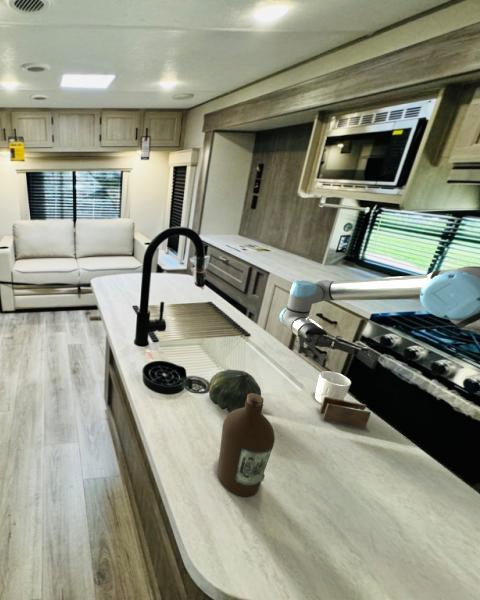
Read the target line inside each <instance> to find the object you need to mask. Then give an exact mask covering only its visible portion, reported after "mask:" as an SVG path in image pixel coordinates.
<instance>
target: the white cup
mask: <svg viewBox="0 0 480 600" xmlns="http://www.w3.org/2000/svg"><path fill="white" fill-rule="evenodd" d="M351 384H352V381H351V380H350V378H348V377H347V376H345V375H343V374H341V373H339V372H336V371H331V370H330V371H329V370H323V371H321V372H320V373H319V375H318V379H317V384H316V389H315V395H314V398H315V399H316V401H317V402H318V403H320V404H322V403H323V399H324V397H329V398H334V399H339V400H345V398H346V397H347V395H348V392H349V389H350V387H351Z"/></svg>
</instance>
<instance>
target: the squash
mask: <svg viewBox="0 0 480 600" xmlns="http://www.w3.org/2000/svg"><path fill="white" fill-rule="evenodd" d="M250 393H254V394H258V395H260V396H261V397H262V390H261V387H260V385H259V383H258V382H257V381H256V379H255V377H253V375H251V374H250V373H248V372H246V371H244V370H240V369H239V370H238V369H225V370H221V371H219V372H217V373H215V374H214V375H212V377H211V378H210V380H209V390H208V395H209V399H210V400H211V402H212V403H213V404H214V405H217V406H218V408H219V409H220V410H223V411H224V410H226V411H227V412H228V413H230V412H232V411H234V410H236V409H240V408H244V407H245V403H246V399H247V396H248V394H250Z"/></svg>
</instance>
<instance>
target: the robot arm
mask: <svg viewBox="0 0 480 600" xmlns="http://www.w3.org/2000/svg"><path fill="white" fill-rule="evenodd" d="M383 300H384V301H385V300H386V301H387V300H388V301H389V300H390V301H391V300H394V301H395V300H420V303H421V305H422V307H423V308H424V310H426V311H427V312H428V313H430V314H431V315H432V316H435V317H437V318H441V319H445V320H449V321H450V322H451V323H452V324H454V325H455V326H457V327H458V328H459V330H465V331H472V332H475V333H477V334H478V335H479V336H480V266H477V265H469V266H463V267H456V268H451V269H442V270H441V269H439V270H433V271H431V272H430V273H429V274H419V275H418V274H416V275H403V276H388V277H373V278H372V277H371V278H359V279H357V278H356V279H346V280H345V279H344V280H343V279H342V280H319V281H317V282H313V281H309V280H295V281H294V282H292V285H291V288H290V290H289V295H288V301H287V305H286V307H285V308H283V309H282V310H281V311H280V313H279V315H278V316H279V320H280V322H281V323H282V324H283V326H285V327H286V328H287V329H289V330H290V331H291V332H292V333H293V334H294V335H295V336H296V339H295V342H296V343H297V353H298V354H300V355H301V354H302V355H303V354H304V355H303V356H304V357H305V358H308V357H310V358H311V359H312V360H314V361H315V362H316V363H317V364H318V365H319V366H320V367H321V368H325V367H326V365H327V360H328V358H326V357H325V356H324V355H323V354H322V353H321V352H320V351H318V350H317V349H316V347H318V348H328V349H331V350H338V351H340V352H344V353H347V354H350V355H352V356H356V359H357V360H359V361H361V362H362V363H363V364H365V366H367V367H368V368H370V369H372V370H375V369H376V367H377V364H378V360H376V359H375V358H374V357H373V356H371V355H370V354H369V351H370V348H369V347H365V346H363V345H361V344H359V343H355V342H353V341H351V340H348V339H346V338H344V337H342V336H340V335H336V337H332V336H330V335H328V332H327V331H326V329H325V328H323V327H322V326H321V325H319V324H318V323H316V322H315V321H314V320H312V319H311V318H310V314H311V310H312V306H313V305H315V304H317V303H320V302H330V301H331V302H333V301H334V302H335V301H383ZM305 345H306V347H305Z"/></svg>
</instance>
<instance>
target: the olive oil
mask: <svg viewBox="0 0 480 600" xmlns="http://www.w3.org/2000/svg"><path fill="white" fill-rule="evenodd" d="M264 400H265V399H264V397H263V396H262V395H261V396H260V395H258V394H254V393H250V394H248V396H247V399H246V403H245V407H244V408H240V409H236V410H234V411H232V412H228V414H227V415H226V417H225V418H224V420H223V423H222V429H221V439H220V448H219V456H218V462H217V463H218V464H217V470H216V475H217V479H218V481H219V483H220V484H221V485H222V486H223V488H225V489H226V490H227V491H229V492H230V493H232V494H233V495H236V496H239V497H243V498H249V497H253V496H255V495H256V494H257V493H258V492H259V490H260V486H261V484H262V482H263V481H264V479H265V476H266V475H265V471H266V468H267V466H268V463H269V460H270V457H271V454H272V451H273V449H274V445H275V441H276V437H275V430H274V427H273V425H272V424H271V422H270V421H269V419H268V418H267V417H266V416H265V415H264V414H263V409H264V408H263V407H264V402H265V401H264Z"/></svg>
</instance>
